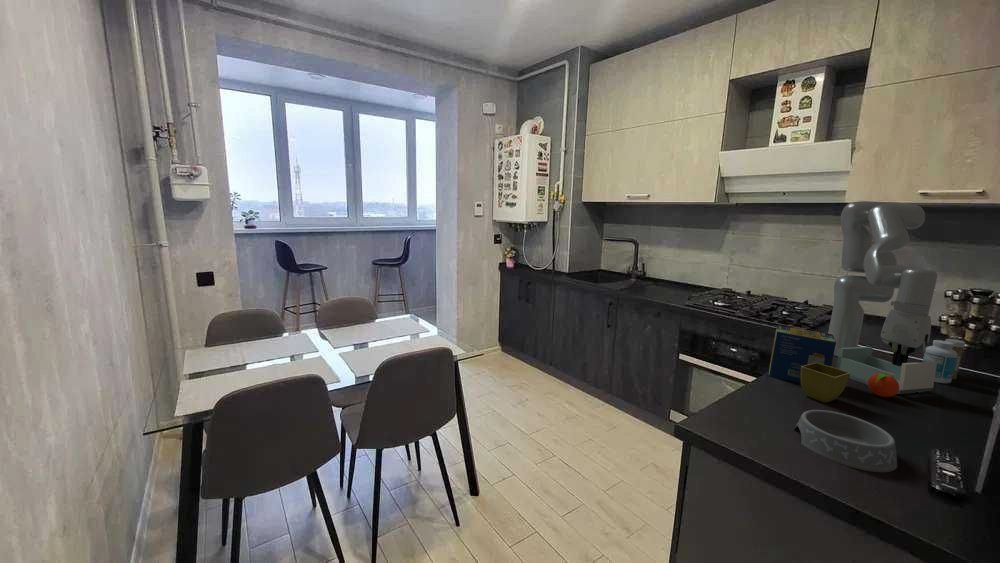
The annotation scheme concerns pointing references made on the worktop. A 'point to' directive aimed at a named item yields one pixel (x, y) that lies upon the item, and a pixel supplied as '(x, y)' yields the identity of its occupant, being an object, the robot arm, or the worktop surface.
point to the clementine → (883, 385)
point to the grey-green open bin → (865, 365)
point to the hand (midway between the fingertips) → (898, 365)
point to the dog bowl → (848, 440)
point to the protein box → (799, 351)
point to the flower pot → (823, 381)
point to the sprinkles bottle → (958, 348)
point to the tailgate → (917, 377)
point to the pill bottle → (942, 360)
